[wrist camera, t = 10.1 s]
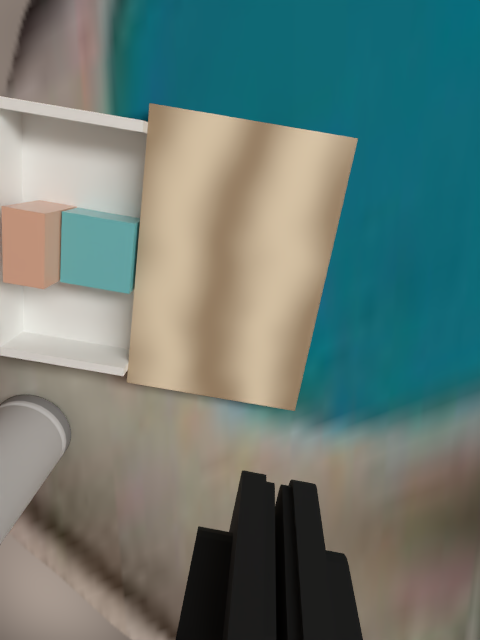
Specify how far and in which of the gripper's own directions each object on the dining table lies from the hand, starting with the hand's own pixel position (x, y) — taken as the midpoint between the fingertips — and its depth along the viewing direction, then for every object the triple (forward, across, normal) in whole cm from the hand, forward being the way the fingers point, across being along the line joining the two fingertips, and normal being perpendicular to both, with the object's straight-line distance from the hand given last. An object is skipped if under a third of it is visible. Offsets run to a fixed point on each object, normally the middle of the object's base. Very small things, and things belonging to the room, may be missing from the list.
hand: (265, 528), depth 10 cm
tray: (+22, +13, -1) cm, 26 cm away
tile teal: (+22, +11, -1) cm, 24 cm away
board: (+22, +3, -1) cm, 22 cm away
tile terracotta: (+19, +14, -1) cm, 24 cm away
